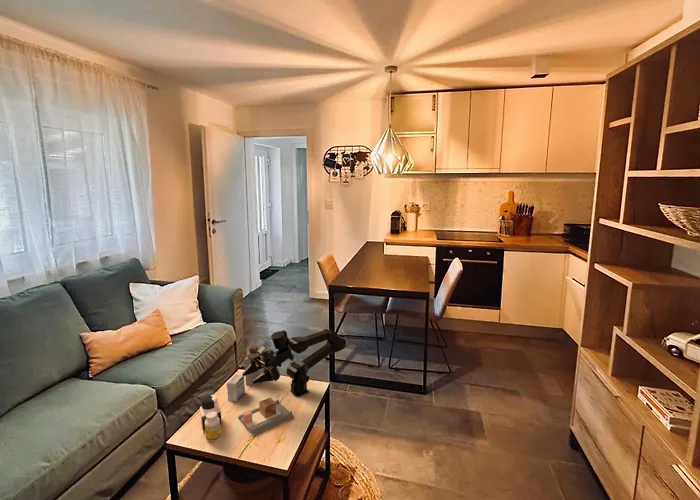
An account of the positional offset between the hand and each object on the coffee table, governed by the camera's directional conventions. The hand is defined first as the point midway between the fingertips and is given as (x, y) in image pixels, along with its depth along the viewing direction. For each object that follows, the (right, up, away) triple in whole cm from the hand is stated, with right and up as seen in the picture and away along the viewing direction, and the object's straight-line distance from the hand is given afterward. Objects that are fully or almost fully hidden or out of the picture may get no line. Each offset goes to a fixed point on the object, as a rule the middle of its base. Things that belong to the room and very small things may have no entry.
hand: (247, 378), depth 154 cm
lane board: (+8, -16, 0) cm, 18 cm away
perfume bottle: (-4, -11, +28) cm, 31 cm away
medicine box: (-9, -14, +16) cm, 23 cm away
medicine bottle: (-13, -17, -4) cm, 22 cm away
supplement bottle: (-10, -19, -11) cm, 24 cm away
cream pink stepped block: (+6, -16, -1) cm, 17 cm away
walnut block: (+8, -14, +1) cm, 17 cm away
